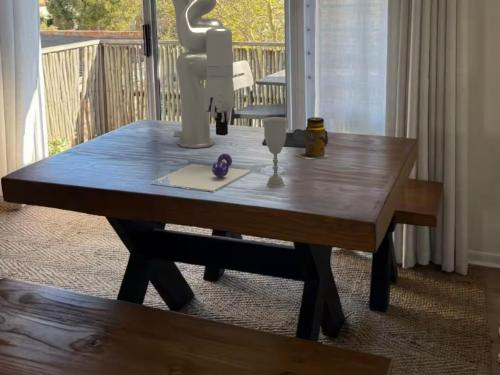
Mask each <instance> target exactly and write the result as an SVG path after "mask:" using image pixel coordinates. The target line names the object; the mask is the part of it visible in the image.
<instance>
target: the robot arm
mask: <svg viewBox="0 0 500 375" xmlns="http://www.w3.org/2000/svg"><path fill="white" fill-rule="evenodd" d="M171 1H172V6H173V9H174V16H175V24H176V26H175V27H176V34H177V39H178V43H179V45H180V46H181V48H182V47H183V48H185V50H186V51H185V52H181V53H180V54H179V55H178V56H177V58H176V61H175V65H176V72H177V76H178V77H177V78H178V82H179V92H180V93H179V95H180V111H181V112H180V114H181V130H175V131H174V132H173V135H172V136H173V137H174V138H179V140H178V141H177V144H179V145H180V146H179V145H178V146H179V147H181V146H183V147H182V148H185V147H188V148H187V149H199V148H201V149H202V148H208V147H212V146H214V145H215V139H213V138H211V132H210V130H211V128H210V126H211V125H210V118H213V120H214V122H215V135H216V136H227V135H229V123H228V122H229V114H231V112H232V110H233V108H234V107H235V88H234V65H233V64H234V58H233V57H234V56H233V54H234V53H233V50H234V49H233V32H232V30H231V29H230V28H228V27H226V26H225V25H224V24H223V22H222V21H221V20H220V19H219V18H214V17H213V18H211V17H210V18H203V16H205V15H207V14H209V13H210V12H212V11H213V10H214V9H215V8H216V5H217V0H171ZM205 80H206V81H205ZM201 81H205V86H204V85H203V83H202V82H201Z"/></svg>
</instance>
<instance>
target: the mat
mask: <svg viewBox="0 0 500 375" xmlns="http://www.w3.org/2000/svg"><path fill="white" fill-rule="evenodd" d="M212 166H213V165H205V164H195V163H191V164H188V165H186V166H184V167H181V168H179V169H177V170H175V171H173V172H170V173H168V174H166V175H164V176H162V177H159V178H157V179H155V181H156V180H158V182H159V181H160V183H161V184H162V181H161V180H163V178H164V179H165V178H166V176H167V177H168V179H169V181H170V185H174V186H180V187H185V188H189V189H195V190H194V191H197V190H201V191H200V192H205V191H210V192H209V193H212V192H214V191H216V190H218V189H219V190H221V189H223V188H225V187H227V186H229V185H230V184H232V183H234V182H236V181H238V180H240V179H241V178H244V177H246V176H247V175H249V174H251V173H252V171H251V170H249V169H241V168H233V167H231V168H230V167H228V173H227V174H226V176H224V177H217V176H215V175H214V174H213V172H212ZM153 183H154V180H153ZM160 183H159V184H160ZM222 187H223V188H222ZM189 189H188V190H189ZM219 190H218V191H219ZM216 192H217V191H216ZM214 193H215V192H214Z"/></svg>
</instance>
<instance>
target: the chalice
mask: <svg viewBox="0 0 500 375" xmlns="http://www.w3.org/2000/svg"><path fill="white" fill-rule="evenodd" d="M288 121H289V119H288V118H287V117H282V116H280V117H279V116H275V117H274V116H271V117H264V118H262V123H263V125H264V127H263V128H264V130H263V131H264V134H263V135H264V139H265V141H266V144H267V146H266V147H267V148H268V150H269V152H270V153H271V154H272V155H273V159H272V163H273V166H272V167H271V168H272V170H273V174H272V175H270V177H269V178H268V181H267V183H266V185H265V186H266V187H268V188H272V189H273V188H277V189H278V188H283V187H284V186H286V184H285V182H284V180H283V178H282V176H280V175H279V174H278V169H279V167H278V162H279V160H278V154H280V153H281V151H282V149H283V148H284V147H283V146H284V143H285V140H286V133H287V123H288Z"/></svg>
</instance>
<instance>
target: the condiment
mask: <svg viewBox="0 0 500 375" xmlns="http://www.w3.org/2000/svg"><path fill="white" fill-rule="evenodd" d="M306 122H307V123H306V126H305V130H306V148H305V153H297V154H296V156H297V157H298V158H303V159H306V160H314V159H320V158H326V157H327V158H328V157H330V156H331V155H330V154H329V155H328V154H325V152H326V151H325V149H326V148H325V146H326V145H325V131H326V127H325V124H324V123H325V119H324V118H322V117H318V116H317V117H309V118H308V117H307V119H306Z"/></svg>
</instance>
